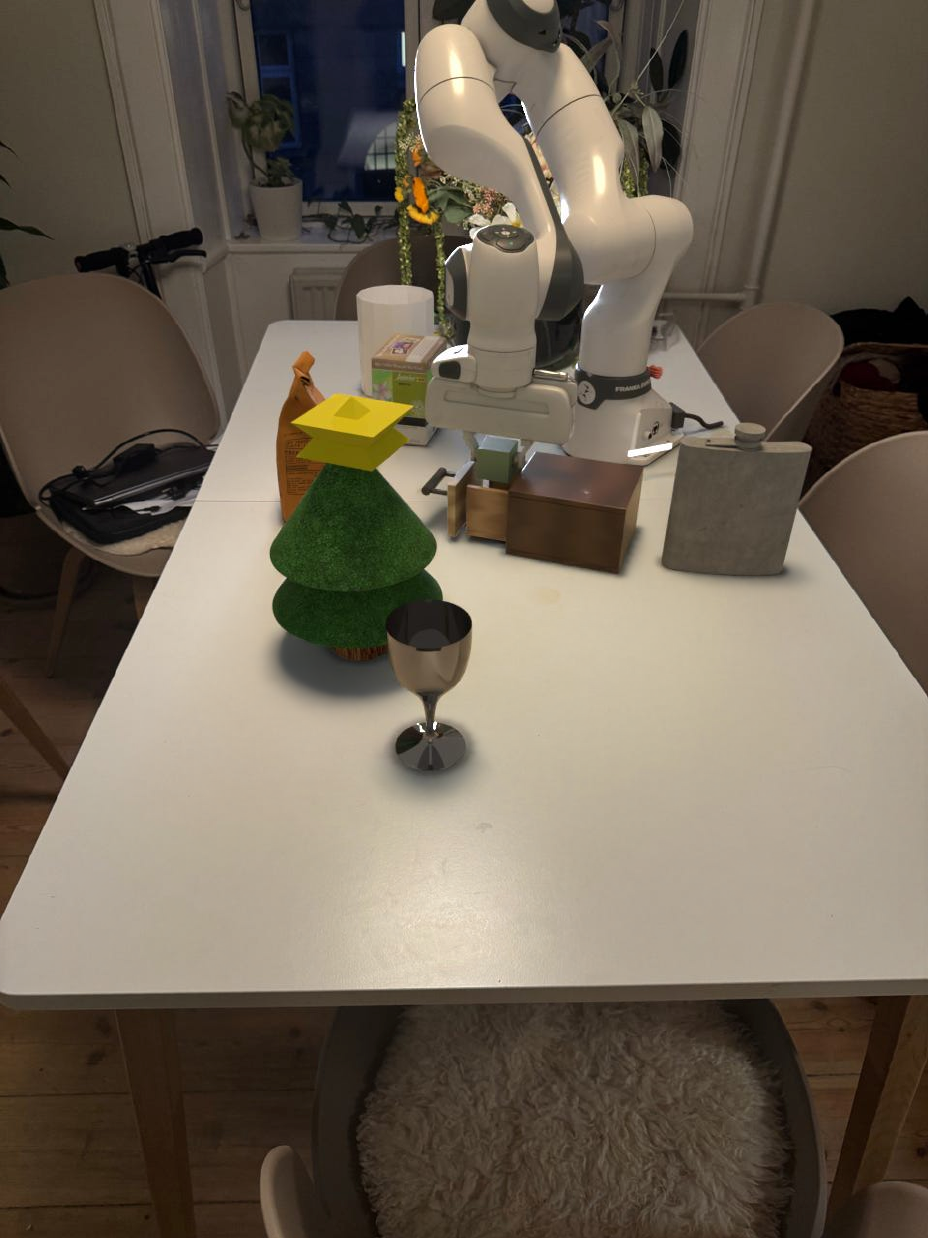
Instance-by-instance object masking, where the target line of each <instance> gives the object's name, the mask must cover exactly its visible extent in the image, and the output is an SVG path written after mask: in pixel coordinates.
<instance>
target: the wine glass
mask: <svg viewBox="0 0 928 1238" xmlns="http://www.w3.org/2000/svg"><path fill="white" fill-rule="evenodd" d="M385 636H386V646H387V652H386V653H387V657H388V661H389V664H390V666H391V670H392V672H393V674H394V676H395V678H396V680H397V681H398V683H399V684H400V685H401V686H402V687H403V688H405V689H406V690H407V691H408V692H410V693H411V694H413V695H414V696H416V697H417V698H418V699H419V700H420V702H421V703H422V706H423V710H424V714H425V722H419V723H416V724H413V725H410V726H409V727H406V729H404V730H403V731H402V732H401V733H400V734H399V735H398V737H396V741H395V743H394V745H395V746H394V750H395V753H396V756H397V758H398V759H399V761H401V762H402V763H403V764H405V765H406V766H408V767H410V768H413V769H415V770H419V771H427V772H428V771H429V772H434V771H441V770H444V769H447V768H450V767H452V766H454V765H455V764H457V763H458V762H459V761H461V759H462V758H463V756H464V755H465V753H466V749H467V743H466V739H465V737H464V736H463V735H462V732H460V731H459V730H458V729H457V728H455V727H453V726H451V725H449V724H447V723H443V722H436V721H435V717H436V709H437V705H438V702H439V700H440V699H441V698H442V697H443V696H444V695H446V694H447V693H449V692H450V691H452V690H453V689H454V688H456V686H457V685H458V684H459V683H460V682H461V681H462V679H463V678H464V675H465V674H466V671H467V668H468V664H469V661H470V657H471V651H472V642H473V620H472V617H471V615H470V614H469V613H468V612H467V611H466V609H465V608H463V607H461V606H460V605H457V604H456V603H453V602H450V601H448V600H447V601H446V600H443V601H442V600H433V599H426V600H417V601H412V602H409V603H405V604H403V605H401V606H399V607H397V608H396V609H394V610H393V611H392V612H391V613H390V614H389V615H388V617H387V619H386V623H385Z"/></svg>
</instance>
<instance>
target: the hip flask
mask: <svg viewBox="0 0 928 1238" xmlns="http://www.w3.org/2000/svg"><path fill="white" fill-rule="evenodd" d="M733 431H734V432H733V434H734V436H733V437H697V436H684V438H682V439H681V440H680V443H679V446H678V454H677V459H676V467H675V471H674V472H675V473H674V480H673V485H672V490H671V497H670V504H669V505H670V506H669V510H668V516H667V524H666V530H665V535H664V543H663V547H662V554H661V555H662V556H661V559H660V561H661V562H660V563H661V564H662V566H664V567H665V568H667V569H669V570H670V569H671V570H677V571H683V572H690V573H691V572H692V573H700V574H712V575H726V576H727V575H728V576H774V575H779V574H781V573H782V570H783V566H784V562H785V558H786V555H787V551H788V546H789V543H790V539H791V535H792V531H793V527H794V524H795V518H796V515H797V511H798V507H799V503H800V499H801V494H802V490H803V487H804V484H805V483H804V482H805V479H806V475H807V471H808V467H809V463H810V459H811V454H812V451H813V447H812V446H811V445H810V444H808V443H805V442H801V441H762V439H764V438H765V435H766V431H767V430H766V428H765V427H764V426H763V425H761V424H758V423H754V422H740V423H737V424H736V425H735V426H734V430H733Z"/></svg>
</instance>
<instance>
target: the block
mask: <svg viewBox="0 0 928 1238" xmlns="http://www.w3.org/2000/svg"><path fill="white" fill-rule="evenodd" d="M515 452H519V439H512V438H505V437H504V438H503V437H497V436H490V435H488V436H486V437H485V438H484V439H483V441H482V442H481V443H480V444H479V447H478V448H477V479H483V481H484V480H485V481H488V482H489V481H496V482H502V483H508V482H509V481H510V480H511V478H512V477H513V475H514V474H515V472H516V471H517V468H513V467H512V463H513V462H512V456H513V454H514V453H515Z"/></svg>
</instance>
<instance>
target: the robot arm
mask: <svg viewBox="0 0 928 1238" xmlns="http://www.w3.org/2000/svg"><path fill="white" fill-rule="evenodd" d="M559 9H560V8H559V5H558V1H557V0H475V1H474V2H473V4H472V5H471V6H470V8H469V9H468V10H467V12H466V14H465V15H464V16H463V18H462V20H461V22H460V24H455V23H446V24H442V25H439V26H436V27H434V28H432V29H431V30H430V31H428V32H427V33H426V34H425V35H424V37H423V38H422V39H421V40H420V43H419V45H418V47H417V49H416V55H415V65H414V70H415V71H414V93H415V104H416V113H417V119H418V126H419V130H420V135H421V139H422V142H423V146H424V148H425V152H426V153H427V155H428V157H429V158H430V160H431V161H432V162H433V163H434V164H435V165H436V166H437V167H438V168H439V169H440V170H442V171H443V172H444V173H445V174H448V175H450V176H451V177H453V178H455V179H459V180H461V181H466V182H470V183H473V184H477V185H480V186H483V187H486V188H489V189H491V190H493V191H496V192H498V193H500V194H502V195H503V196H504V197H506V198H508V200H510V201H511V202H512V203H513V205H514V206H515V208H516V210H517V214H518V216H519V219H520V221H521V224H522V227H521V226H518V225H517V226H516V225H513V224H505V223H499V224H498V223H497V224H491V225H486V226H484V227H481V228H480V229H478V230H476V232H475V233H474V235H473V238H472V242H471V243H468V244H465V245H461V246H458V247H456V249H455V250H453V252H452V253H451V254H450V255H449V257H448V258H447V259H446V261H445V262H444V263H443V271H444V272H443V273H444V274H443V275H444V276H443V277H444V279H443V281H444V282H443V283H444V289H443V290H444V291H443V296H444V297H443V302H444V306H445V307H446V308H447V309H448V310H449V311H450V312H451V313H452V314H454V315H455V316H456V317H457V318H458V319H460V320H461V321H463V322H464V321H468V322H469V324H470V325H469V330H468V335H467V339H466V344H463V345H457V346H454V347H451V348H447V350H446V351H445V352H443V353H442V354H441V355H439V356H438V357H437V358H436V359H435V360H434V361H433V363H432V365H431V373H432V375H433V376H434V378H433V379H431V381H430V382H429V384H428V386H427V391H426V399H425V419H426V420H427V422H428V423H429V425H430V426H433V427H438V428H440V429H447V430H453V431H454V430H455V431H460V432H462V439H463V441H464V442H465V445H466V446H467V448H468V450H469V451H470V457H469V458H470V460H471V461H473V462H477V448H478V447H479V446H480V444H479V443H478V440H477V439H476V435H477V434H482V435H488V436H494V437H501V438H503V437H504V438H508V439H515V440H520V443H519V444H520V446H521V447H523V448H522V450H521V451H518V452H515V453H514V454H513V456H512V462H513V463H512V467H513V468H519V469H522V468H523V467H524V465H525V461H526V455H527V453H528V451H529V450H530V449H531V448H532V446H533V444H534V443H535V442H536V443H537V442H538V443H545V444H553V445H559V446H561V448H562V449H563V451H564V452H566V454H568V456H571V457H578V458H585V459H591V460H598V461H605V462H612V463H619V464H626V465H633V466H639V467H644V466H648V465H649V464H651V463H652V462H654V461H656V459H658V458H660V457H661V456H663V455H664V454H665V453H668V452H669V451H670V450H672V449H673V448H674V447H676V446H677V445H680V440H681V439H682V438H685V434H684V433H683V432H682V431H681V430H680V429H683V428H684V426H685V421H686V419H690V420H693V421H696V422H697V423H698V424H699V425H700V426H701V427H703V428H704V429H708V430H709V429H711V430H712V429H715V428H719V427H723V426H724V424H725V423H724V420H720V421H716V422H713V423H708V422H706V421H705V420H704V419H703V418H702V417H701V416H699V415H697V414H694V413H689V412H686V411H685V410H684V409H682V408H681V407H679V406H678V405H677V404H675V403H673V402H672V401H669V402H668V401H667V400H666V399H665V398H664V397H663V396H661V395H660V394H659V393H658V392H657V391H656V390H655V389H653V385H652V381H651V378H653V379H655V380H660V379H661V378H662V376H663V374H664V369H663V367H662V366H656V365H655V364H650V365H649V366H648V360H649V353H650V347H651V340H652V333H653V327H654V322H655V319H656V314H657V311H658V308H659V306H660V303H661V300H662V298H663V296H664V293H665V290H666V289H667V285H668V283H669V280H670V278H671V276H672V274H673V272H674V270H675V268H676V266H677V265H678V263H679V262H680V260H681V259H682V258H683V257H684V256H685V254H686V253H687V252H688V251H689V249H690V247H691V245H692V241H693V238H694V228H695V227H694V220H693V216H692V214H691V212H690V210H689V208H688V207H687V205H685V203H683V202H682V201H680V200H679V199H676V198H674V197H670V196H669V197H668V196H664V195H658V194H648V195H643V196H637V197H631V198H629V197H628V196H627V195H626V194H625V193H624V190H623V187H622V184H621V183H622V182H621V178H620V170H619V169H620V167H621V165H622V164H623V161H624V158H625V151H626V150H625V143H624V141H623V139H622V137H621V135H620V133H619V131H618V128H617V125H616V124H615V122H614V119H613V118H612V116H611V113H610V111H609V109H608V107H607V105H606V102H605V101H604V98H603V97H602V95H601V92H600V91H599V89H598V87H597V85H596V83H595V82H594V79H593V78H592V76H591V74H590V73H589V72H588V70H587V68H586V67H585V65H584V64H583V62H582V61H581V60H580V58H579V57H578V56H577V55H576V54H577V53H575V52H574V51H573V49H572V48H571V47H570V46H568V45H567V44H565V43H562V40H563V27H562V22H561V20H560V19H561V18H560V10H559ZM510 92H512V93H513V94H514V95H515V96H516V97H517V98H518V100H520V101H521V105H522V107H523V111H524V113H525V117H526V120H527V122H528V125H529V128H530V130H531V132H532V135H533V137H534V139H535V141H536V144H537V145H538V147H539V150H540V152H541V154H542V156H543V158H544V161H545V163H546V165H547V167H548V169H549V171H550V174H551V176H552V179H553V181H554V183H555V187H556V189H557V193H558V196H559V197H558V198H559V202H560V210H561V211H560V212H561V216H560V214H559V210H558V208H557V205H556V203H555V200H554V197H553V194H552V192H551V189H550V186H549V184H548V181H547V178H546V176H545V174H544V173H545V172H544V171H543V168H542V166H541V163H540V161H539V157H538V156H537V154H536V152H535V150H534V147H533V145H532V144H531V142H530V140H529V139H528V138H527V137H525V136H523V135H522V134H521V133H519V132H518V131H517V130H516V129H515V127H513V126H512V124H510V122H509V120H508V119H507V118H506V116H505V115H504V113H503V111H502V110H501V108H500V103H501V101H503V100H504V99H505V97H507V95H509V94H510ZM585 285H599V286H600V285H601V286H600V288H599V290H598V293H597V295H596V296H595V298H594V299H593V301H592V302H591V303H590V305H589V306H588V307H587V308H586V310H585V311H584V314H583V317H582V321H581V327H580V329H581V330H580V340H579V341H580V342H579V352H578V361H577V363H576V364H575V368H574V373H573V376H571V375H569V372H566V371H553V370H549V369H544V368H536V359H537V358H536V357H537V356H536V355H537V334H536V330H535V322H536V321H547V322H548V321H550V322H551V321H552V322H559V321H561V320H563V319H564V318H565V317H566V316H567V315H569V314H570V313H571V312H572V311H573V310H574V309H575V308H576V306H577V305H578V304H579V303H580V301H581V299H582V297H583V293H584V290H585V289H584V288H585Z"/></svg>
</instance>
